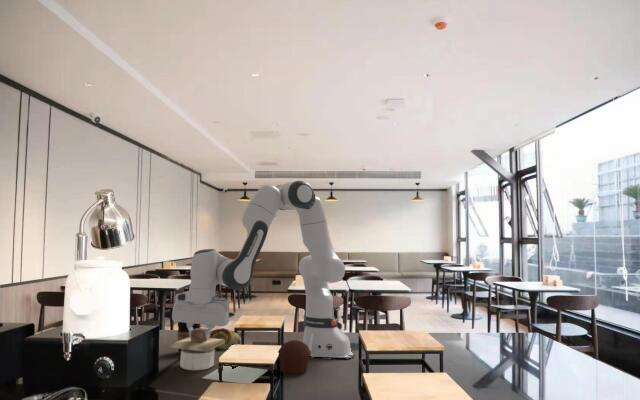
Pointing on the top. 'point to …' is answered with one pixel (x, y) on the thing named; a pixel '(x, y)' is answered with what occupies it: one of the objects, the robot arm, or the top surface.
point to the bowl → (196, 359)
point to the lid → (198, 341)
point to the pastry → (225, 338)
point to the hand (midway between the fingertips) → (199, 337)
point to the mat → (237, 374)
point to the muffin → (294, 357)
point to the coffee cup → (184, 331)
